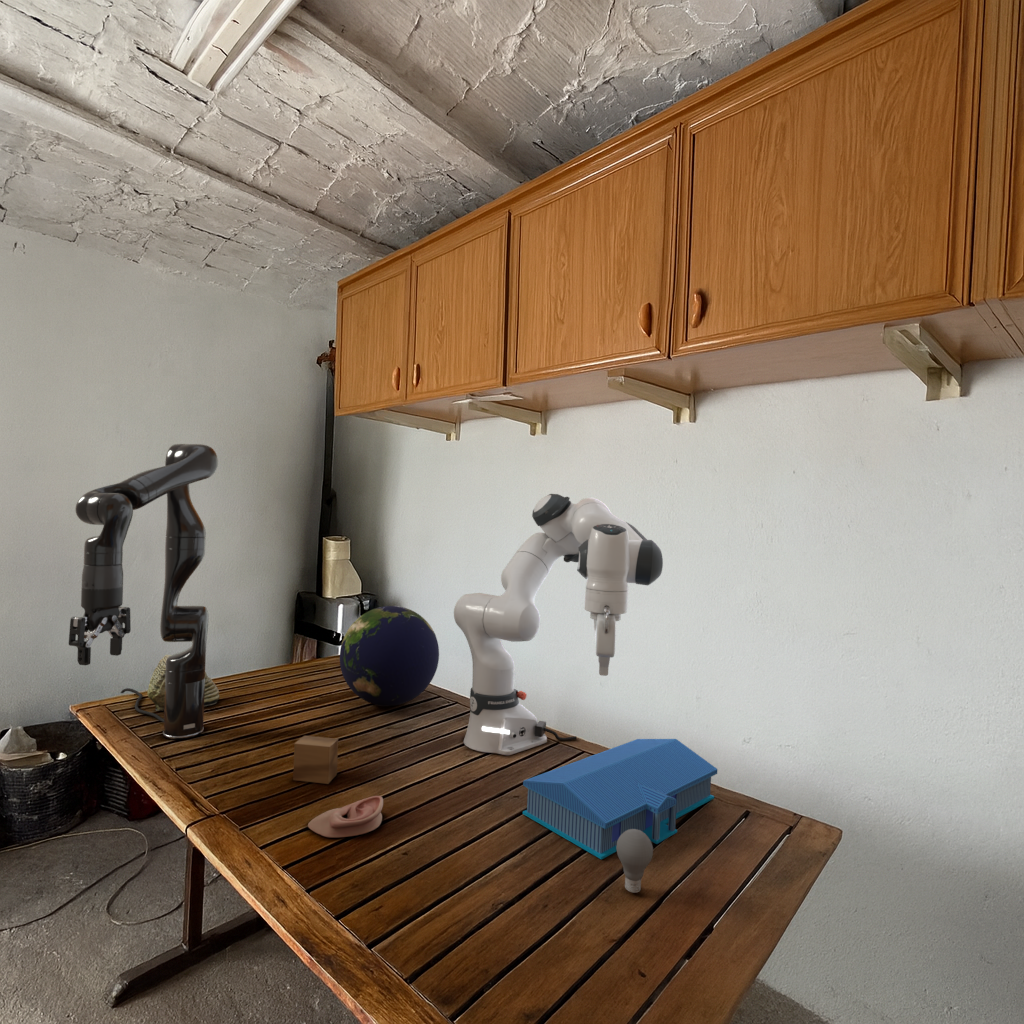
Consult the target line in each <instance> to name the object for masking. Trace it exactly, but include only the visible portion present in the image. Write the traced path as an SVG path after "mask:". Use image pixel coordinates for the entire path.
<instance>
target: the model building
mask: <svg viewBox="0 0 1024 1024" xmlns="http://www.w3.org/2000/svg"><path fill="white" fill-rule="evenodd" d="M715 775H718V768H717V767H715V766H714V765H713V764H711V763H710V762H709V761H708V760H706V759H705V758H703V757H702V756H700V755H699V754H697V753H696V752H695V751H693V750H692V749H691V748H689V747H688V746H686V745H685V744H684V743H683V742H682V741H680V740H679V739H677V738H637V739H633V740H631V741H628V742H626V743H622V744H619V745H618V746H614V747H612V748H609V749H606V750H604V751H601V752H598V753H595V754H593V755H590V756H587V757H585V758H582V759H578V760H576V761H573V762H571V763H567V764H565V765H563V766H559V767H557V768H555V769H552V770H549V771H546V772H543V773H541V774H538V775H535V776H532V777H529V778H527V779H524V780H523V781H522V786H523V787H525V788H526V789H527V799H526V800H527V801H526V809H525V810H523V811H522V815H524V816H525V817H527V818H529V819H531V820H532V821H534V822H535V823H538V824H540V826H543V827H544V828H545V829H547V830H549V831H552V833H554V834H557V835H558V836H560V837H562V838H564V839H565V840H567V841H569V842H570V843H572V844H574V845H576V846H577V847H579V848H581V849H582V850H584V851H586V852H587V853H589V854H591V855H592V856H594V857H596V858H598V859H600V860H603V859H605V858H607V857H609V856H611V855H613V854H615V853H617V849H616V846H617V841H618V839H619V837H620V835H621V834H622V833H623V832H625V831H627V830H629V829H637V830H640V831H642V832H644V833H645V834H646V835H647V836H648V838H649V839H650V841H651V843H652V844H656V845H658V844H660V843H662V842H663V841H665V840H666V839H668V838H670V837H671V836H673V835H676V834H677V833H678V829H677V828H676V822H677V819H679V818H680V817H683V816H684V815H686V814H688V813H690V812H692V811H693V810H695V809H697V808H699V807H701V806H702V805H704V804H707V803H708V802H710V801H712V800H714V799H715V795H713V794H711V787H712V777H714V776H715Z"/></svg>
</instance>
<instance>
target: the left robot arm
mask: <svg viewBox="0 0 1024 1024" xmlns="http://www.w3.org/2000/svg"><path fill="white" fill-rule="evenodd" d="M218 464H219V459H218V455H217V453H216V451H215V449H214V448H212V447H211V446H210V445H207V444H202V443H175V444H172V445H170V447H169V448H168V450H167V451H166V454H165V461H164V466H159V467H155V468H151V469H147V470H144V471H140V472H139V473H136V474H133V475H132V476H130V477H128V478H126V479H124V480H122V481H120V482H118V483H113V484H109V485H105V486H101V487H98V488H95V489H92V490H89V491H87V492H85V493H84V494H82V495H81V497H80V498H79V499H78V500H77V502H76V503H75V514H76V516H77V518H78V519H79V521H81V522H83V523H85V524H88V525H93V526H94V525H96V526H102V528H101V529H102V530H101V531H100V533H99V535H95V536H90V537H88V538H86V539H85V541H84V544H83V545H84V546H83V566H82V567H83V568H82V571H81V572H82V573H81V591H80V592H81V593H80V606H81V608H82V609H83V610H84V614H83V616H72V617H71V618H70V619H69V620H70V621H69V634H68V646H70V647H75V648H77V664H78V665H79V666H89V665H91V661H92V660H91V659H92V658H91V657H92V656H91V655H92V654H91V653H92V647H91V646H92V644H93V642H94V640H95V639H96V638H98V637H99V635H100V634H104V633H105V632H107V633H108V634H109V636H110V637H111V638H110V639H109V640H110V641H109V654H110V655H111V656H116V657H117V656H120V655H121V654H122V650H123V639H124V637H125V635H127V634H130V633H131V607H128V606H123V602H124V601H123V599H124V597H123V596H124V569H123V559H124V557H123V554H124V552H123V550H124V549H123V548H124V543H125V541H126V539H127V535H128V531H129V528H130V526H131V523H132V519H133V515H134V511H135V510H139V509H141V508H143V507H145V506H147V505H149V504H150V503H152V502H154V501H155V500H157V499H159V498H161V497H163V496H165V495H166V505H167V506H166V530H165V544H164V545H165V547H164V548H165V549H164V554H165V555H164V586H163V593H162V594H163V595H162V602H161V603H162V605H161V613H160V623H159V631H160V638H161V640H162V641H163V642H166V643H191V646H190V647H189V648H187V649H185V650H182V651H180V652H176V653H174V654H170V655H171V656H169V657H168V658H167V660H166V674H165V705H164V710H163V717H161V716H160V715H158V714H157V713H154V712H151V711H147V710H143V709H141V708H139V705H140V701H141V700H142V698H143V694H142V693H141V692H139V691H137V690H136V689H133V688H131V687H130V688H128V687H126V688H123V689H122V690H121V691H120V694H124V693H125V692H131V693H133V694H135V695H137V696H138V698H136V701H135V705H134V710H135V711H136V712H138V713H140V714H143V715H147V716H150V717H153V718H155V719H156V720H158V721H160V722H162V723H163V731H162V737H164V738H166V739H169V740H185V739H190V738H191V739H192V738H194V737H197V736H199V735H202V734H203V732H204V730H205V729H204V722H205V721H204V718H205V706H204V693H205V672H206V664H207V663H206V660H207V659H206V658H207V657H206V656H207V640H208V629H209V610H208V609H207V607H206V606H205V605H178V603H179V597H180V594H181V592H182V590H183V588H184V586H185V585H186V583H187V582H188V581H189V579H190V577H191V576H192V575H193V574H194V572H195V571H196V570H197V568H198V567H199V566H200V565H201V563H202V562H203V560H204V557H205V555H206V534H207V532H206V527H205V525H204V522H203V521H202V519H201V517H200V515H199V514H198V511H197V510H196V507H195V506H194V504H193V502H192V499H191V494H190V485H191V484H193V483H196V482H200V481H203V480H207V479H210V478H211V477H212V476H213V475H214V474H215V473H216V471H217V468H218V467H219V466H218Z"/></svg>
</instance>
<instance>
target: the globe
mask: <svg viewBox="0 0 1024 1024" xmlns="http://www.w3.org/2000/svg"><path fill="white" fill-rule="evenodd" d="M436 635H437V634H436V633H435V631H434V629H433V628H432V626H431V624H430V623H429V622H428V621H427V620H426V619H425V618H424V617H423V616H422V615H421V614H419V613H417V612H416V611H414V610H412V609H410V608H407V607H404V606H399V605H384V606H380V607H379V606H378V607H375V608H373V609H371V610H368V611H366V612H364V613H363V614H362V615H360V616H359V617H358V618H357V619H356V620H355V621H354V622H352V623H351V624H350V626H349V628H348V629H347V631H346V632H345V635H344V636H343V639H342V641H341V645H340V650H339V666H340V671H341V674H342V677H343V679H344V681H345V683H346V685H347V686H348V687H349V689H350V690H351V691H352V692H353V694H355V695H356V696H357V697H358V698H360V699H362V700H363V701H365V702H367V703H369V704H372V705H374V706H378V707H394V706H399V705H403V704H405V703H408V702H410V701H412V700H414V699H415V698H417V697H418V696H420V695H421V694H422V693H423V692H424V691H425V690H426V689H427V688H428V687H429V685H430V684H431V682H432V681H433V679H434V677H435V675H436V673H437V669H438V667H439V661H440V660H439V659H440V647H439V642H438V638H437V636H436Z"/></svg>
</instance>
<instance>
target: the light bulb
mask: <svg viewBox="0 0 1024 1024" xmlns="http://www.w3.org/2000/svg"><path fill="white" fill-rule="evenodd" d="M616 849H617V851H616V854H617V857H618V859H619V861H620V863H621V865H622V867H623V873H624V874H623V875H624V876H625V878H624V888H625V890H627V891H628V892H630V893H634V894H635V893H639V892H640V891H641V889H642V887H641V886H642V879H643V877H644V875H645V871H646V868H647V867H648V866H649V864H650V863H651V861H652V859H653V855H654V847H653V842H651V841H650V839H649V838H648V836H647V835H646V834H645V833H644V832H642V831H640V830H637V829H629V830H627V831H625V832H623V833H622V834H621V835H620V837H619V839H618V841H617V846H616Z"/></svg>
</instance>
